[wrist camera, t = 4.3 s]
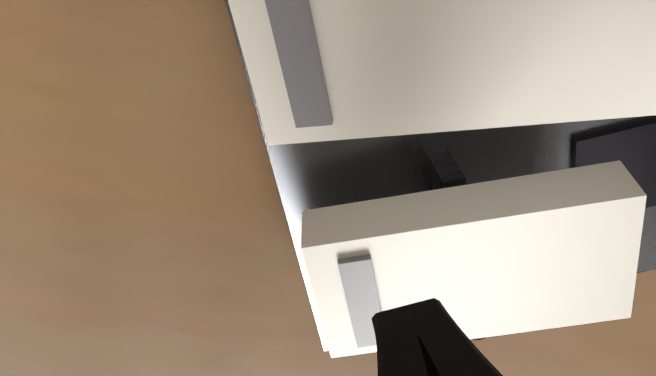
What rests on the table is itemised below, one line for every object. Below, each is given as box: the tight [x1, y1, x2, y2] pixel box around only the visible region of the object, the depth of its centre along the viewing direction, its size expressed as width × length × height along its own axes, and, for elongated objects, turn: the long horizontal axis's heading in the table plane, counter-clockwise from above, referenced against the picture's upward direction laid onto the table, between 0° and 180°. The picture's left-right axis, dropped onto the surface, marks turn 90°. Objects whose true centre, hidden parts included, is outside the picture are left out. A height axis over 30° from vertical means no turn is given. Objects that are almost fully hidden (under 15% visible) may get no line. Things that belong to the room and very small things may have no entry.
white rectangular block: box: [301, 160, 647, 358], centre depth 16 cm, size 8×4×2 cm, turn 101°
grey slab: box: [225, 0, 656, 351], centre depth 17 cm, size 12×26×5 cm, turn 10°
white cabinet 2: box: [228, 0, 656, 146], centre depth 12 cm, size 8×4×2 cm, turn 101°
